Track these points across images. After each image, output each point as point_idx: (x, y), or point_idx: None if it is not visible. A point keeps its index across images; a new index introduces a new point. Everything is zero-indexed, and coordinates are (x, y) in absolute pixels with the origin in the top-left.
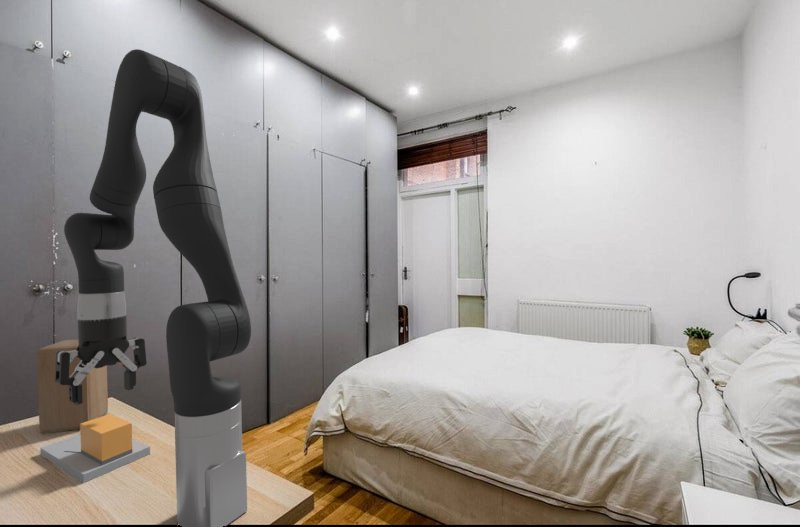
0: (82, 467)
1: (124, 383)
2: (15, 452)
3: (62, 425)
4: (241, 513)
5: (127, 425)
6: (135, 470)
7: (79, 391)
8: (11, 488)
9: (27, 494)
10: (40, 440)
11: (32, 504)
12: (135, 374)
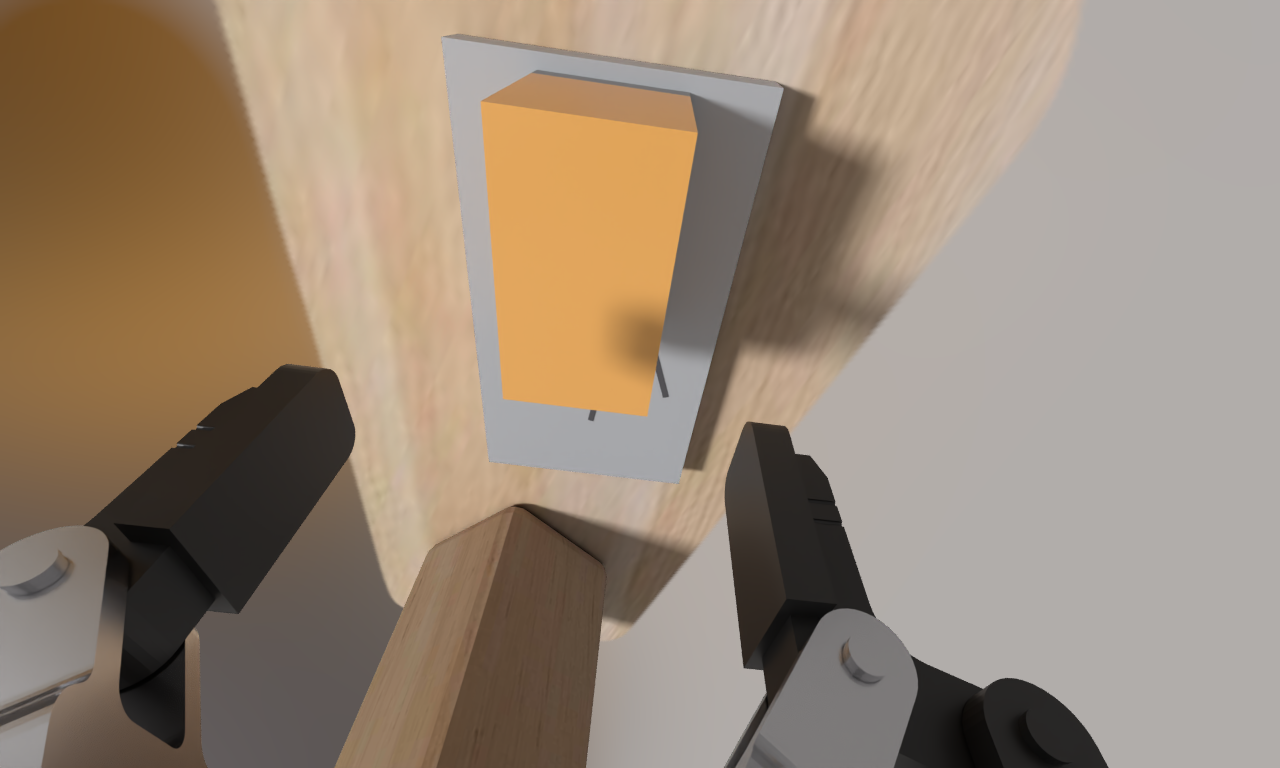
0: (734, 180)
1: (328, 481)
2: (693, 527)
3: (565, 555)
4: None
5: (515, 102)
6: None
7: (796, 528)
8: (855, 336)
9: (885, 236)
10: (624, 537)
11: (953, 123)
12: (131, 491)
